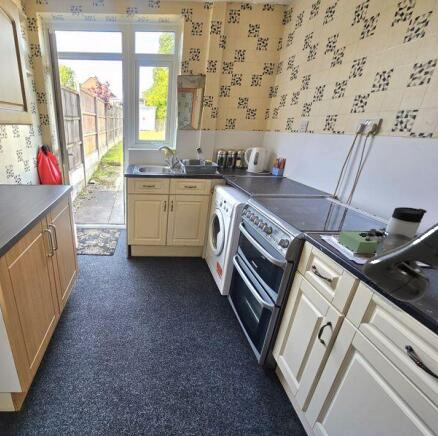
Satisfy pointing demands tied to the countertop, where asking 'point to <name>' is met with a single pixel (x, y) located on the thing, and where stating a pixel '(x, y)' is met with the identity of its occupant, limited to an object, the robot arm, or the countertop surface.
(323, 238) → the countertop surface
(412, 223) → the travel mug
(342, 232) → the riser block
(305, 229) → the countertop surface
